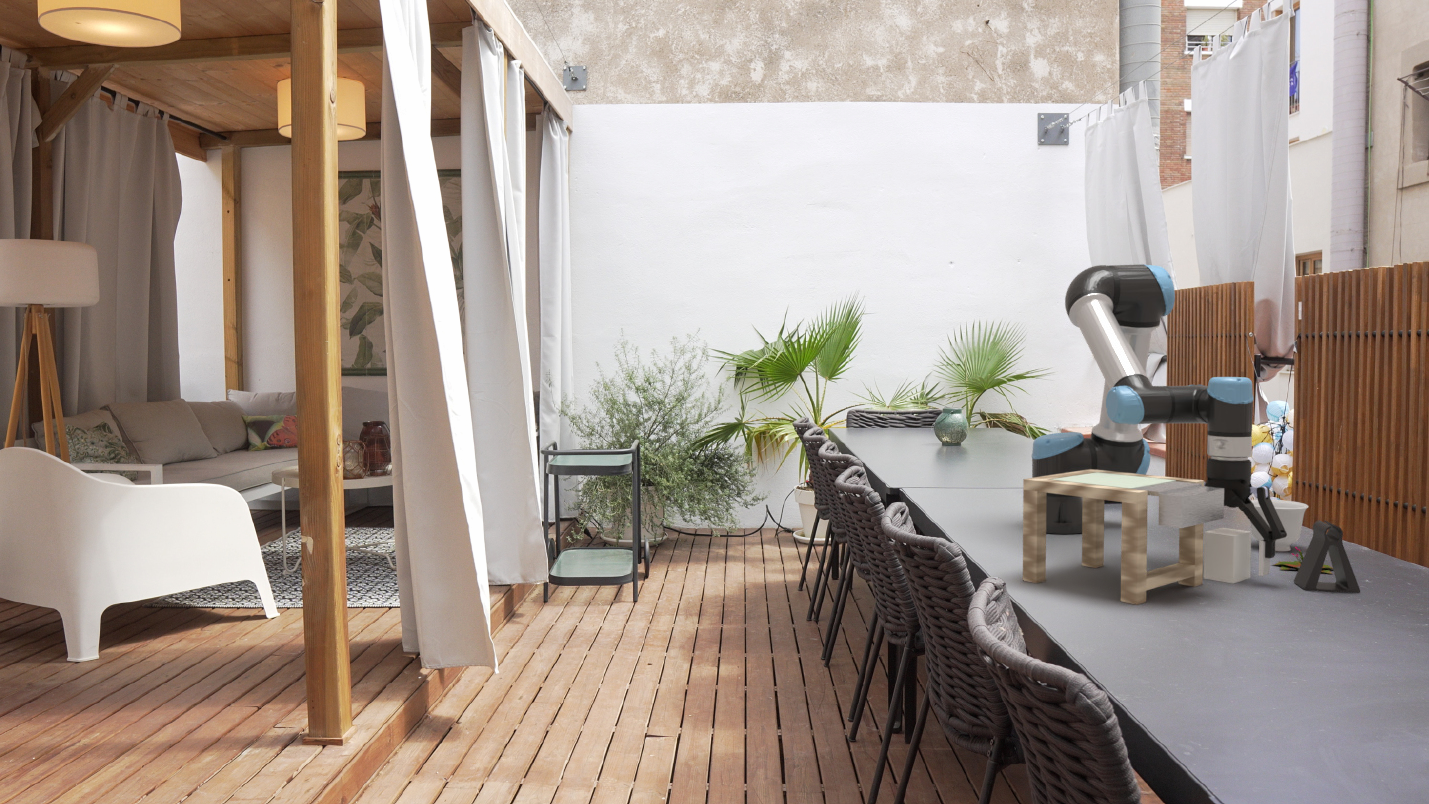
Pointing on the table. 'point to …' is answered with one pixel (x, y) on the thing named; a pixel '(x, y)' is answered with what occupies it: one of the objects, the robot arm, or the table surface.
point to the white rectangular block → (1227, 555)
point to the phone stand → (1316, 557)
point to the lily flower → (1299, 563)
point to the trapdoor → (1167, 497)
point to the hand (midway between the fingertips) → (1227, 568)
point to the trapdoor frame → (1133, 534)
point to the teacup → (1284, 522)
